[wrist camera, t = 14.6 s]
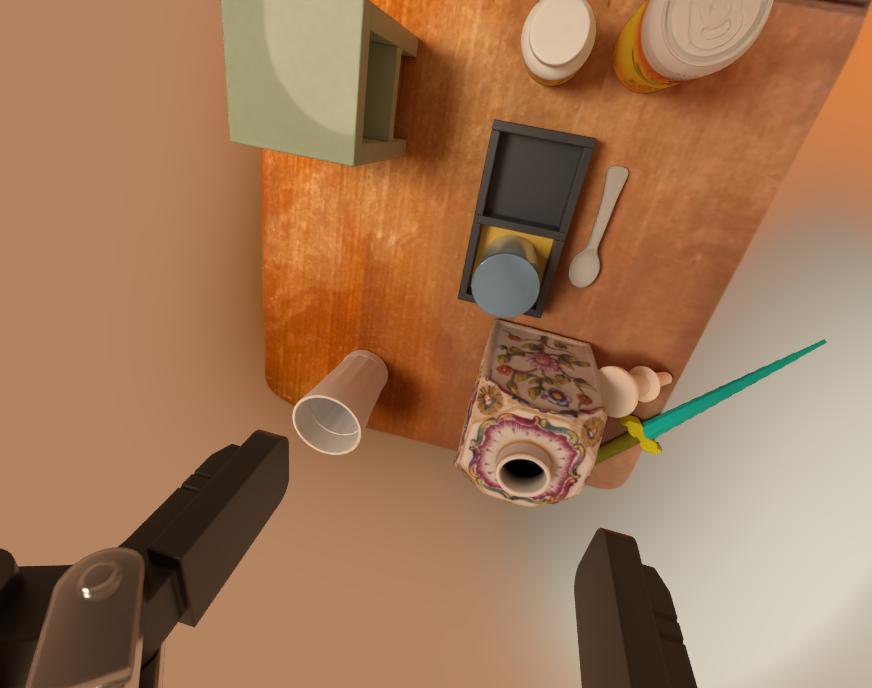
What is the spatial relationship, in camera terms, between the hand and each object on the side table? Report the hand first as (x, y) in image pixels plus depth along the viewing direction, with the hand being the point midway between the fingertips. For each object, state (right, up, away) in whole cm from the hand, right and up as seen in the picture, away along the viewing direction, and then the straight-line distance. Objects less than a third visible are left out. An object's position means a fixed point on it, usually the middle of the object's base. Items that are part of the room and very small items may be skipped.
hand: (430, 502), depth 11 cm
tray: (+9, +17, +33) cm, 38 cm away
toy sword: (+17, -12, +44) cm, 49 cm away
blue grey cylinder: (+8, +13, +34) cm, 38 cm away
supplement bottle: (+11, +30, +26) cm, 41 cm away
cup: (-9, 0, +46) cm, 47 cm away
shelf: (-7, +29, +31) cm, 43 cm away
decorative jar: (+11, +1, +41) cm, 42 cm away
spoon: (+16, +16, +32) cm, 39 cm away
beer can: (+18, +29, +25) cm, 42 cm away
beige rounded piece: (+18, -1, +32) cm, 36 cm away
